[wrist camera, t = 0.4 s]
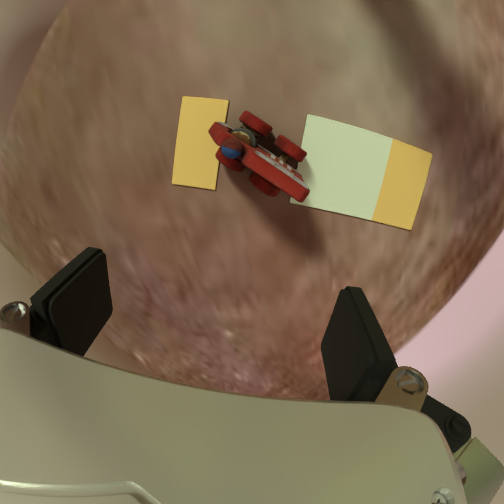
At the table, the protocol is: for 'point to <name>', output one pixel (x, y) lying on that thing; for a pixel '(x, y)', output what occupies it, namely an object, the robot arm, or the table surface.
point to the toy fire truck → (260, 156)
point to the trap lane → (319, 165)
